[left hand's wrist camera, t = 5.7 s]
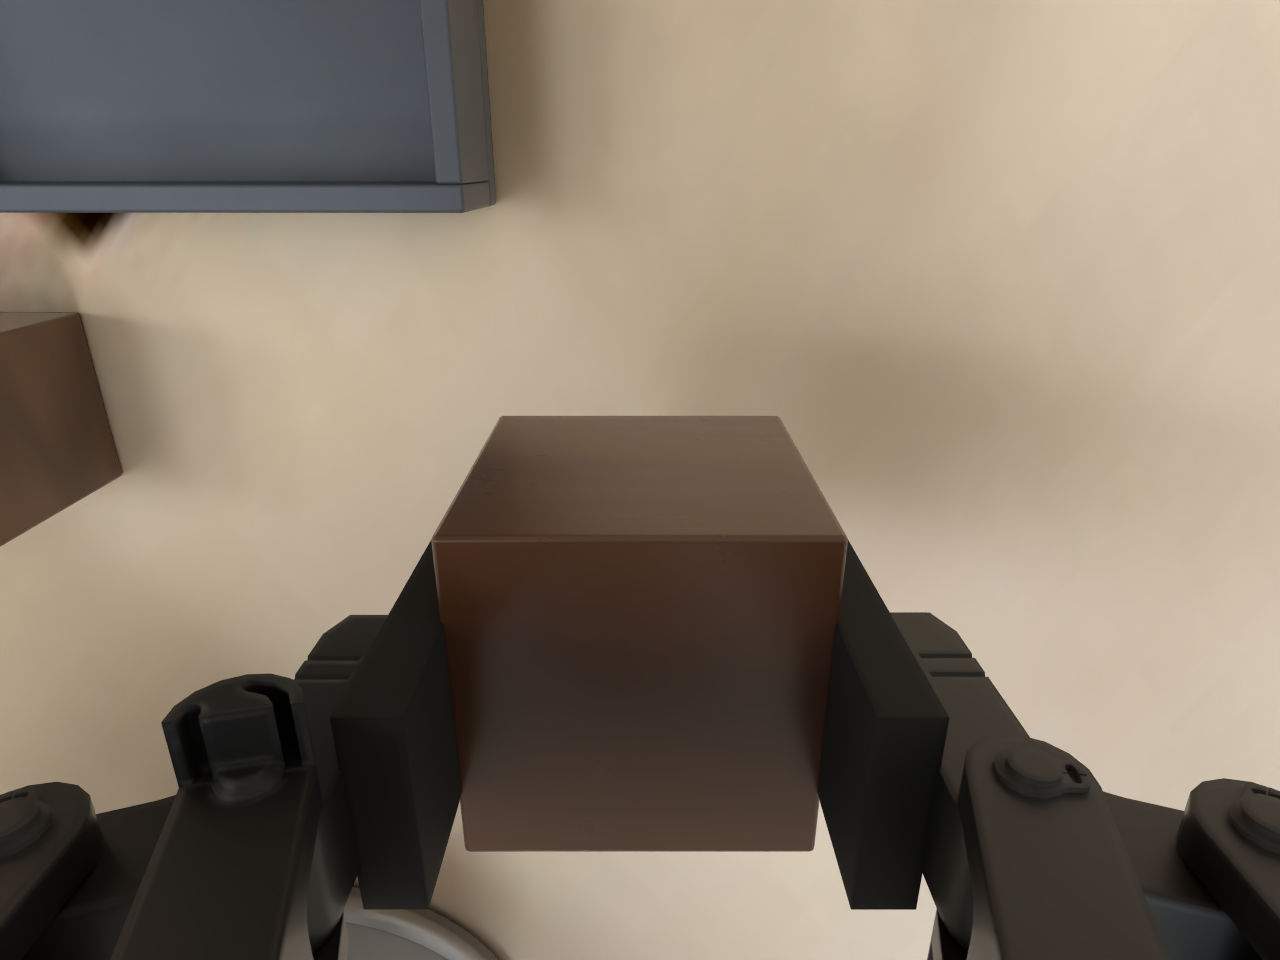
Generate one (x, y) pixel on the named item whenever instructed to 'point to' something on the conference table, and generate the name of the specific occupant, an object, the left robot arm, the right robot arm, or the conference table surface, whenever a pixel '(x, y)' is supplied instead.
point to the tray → (244, 106)
